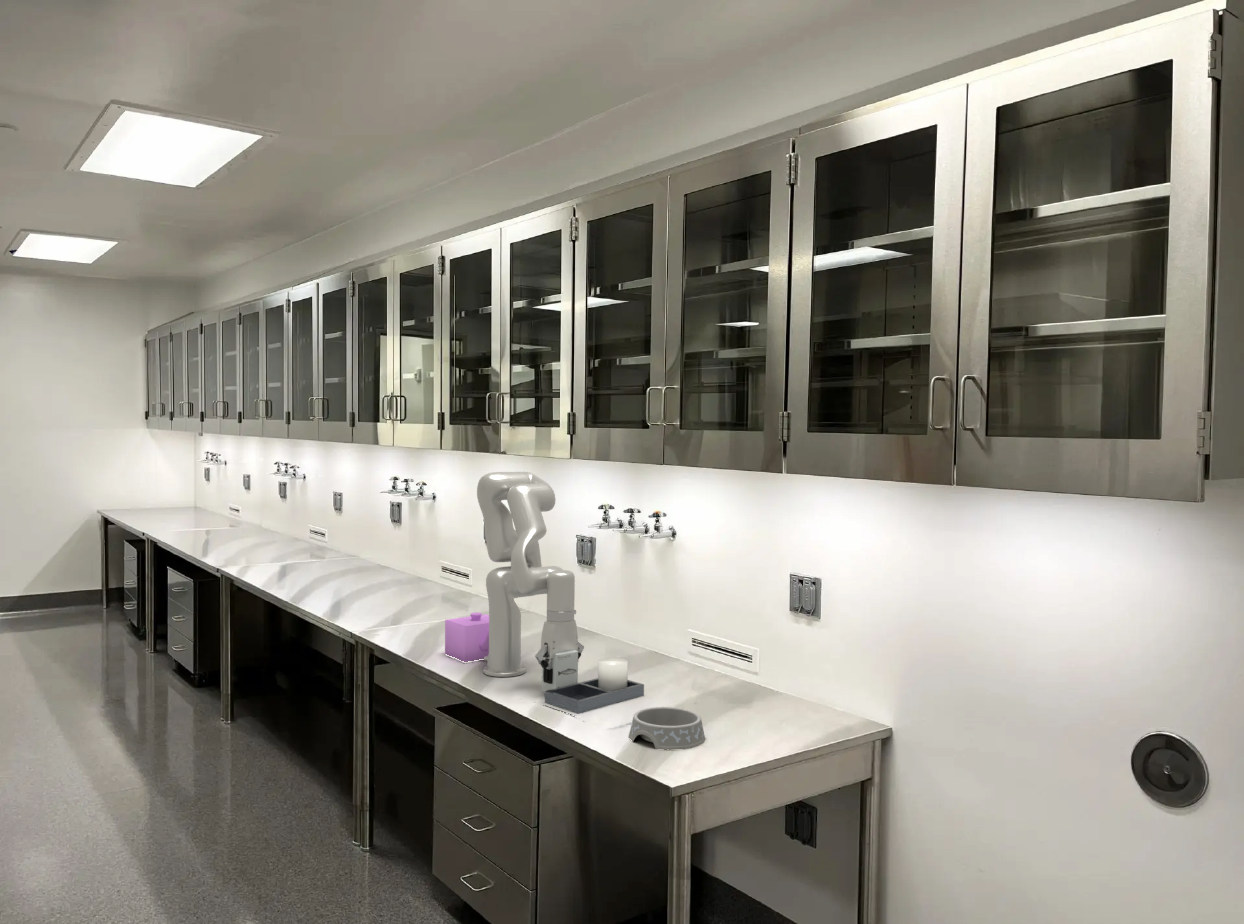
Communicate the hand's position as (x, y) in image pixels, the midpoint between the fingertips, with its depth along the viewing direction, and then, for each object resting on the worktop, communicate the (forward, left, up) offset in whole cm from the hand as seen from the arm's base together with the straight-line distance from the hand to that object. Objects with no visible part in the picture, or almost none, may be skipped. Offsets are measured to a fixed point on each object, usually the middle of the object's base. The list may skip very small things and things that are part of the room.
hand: (559, 679), depth 248 cm
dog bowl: (+43, -3, -5) cm, 43 cm away
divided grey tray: (+11, +3, -4) cm, 12 cm away
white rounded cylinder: (+11, +10, -3) cm, 15 cm away
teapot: (-51, +9, -5) cm, 52 cm away
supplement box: (0, 0, -5) cm, 5 cm away
